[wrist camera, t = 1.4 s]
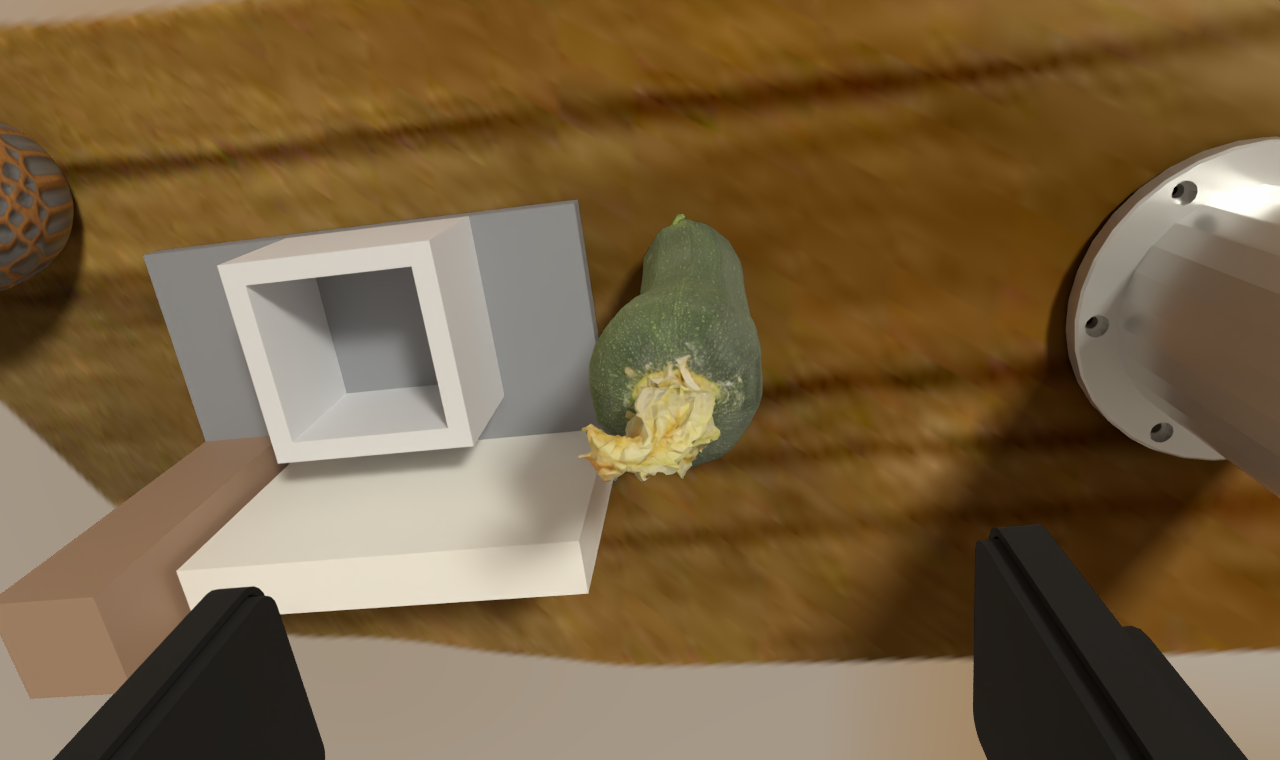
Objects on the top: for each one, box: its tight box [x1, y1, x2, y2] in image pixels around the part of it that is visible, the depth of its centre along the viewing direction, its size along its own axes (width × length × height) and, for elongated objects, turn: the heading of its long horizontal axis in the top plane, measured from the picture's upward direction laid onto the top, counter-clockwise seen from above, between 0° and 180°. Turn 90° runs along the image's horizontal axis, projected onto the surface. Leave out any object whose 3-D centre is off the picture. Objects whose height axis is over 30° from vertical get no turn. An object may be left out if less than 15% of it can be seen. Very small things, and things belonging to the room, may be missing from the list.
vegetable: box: [578, 214, 762, 483], centre depth 24 cm, size 4×4×20 cm
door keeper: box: [0, 200, 617, 699], centre depth 30 cm, size 18×12×13 cm, turn 97°
